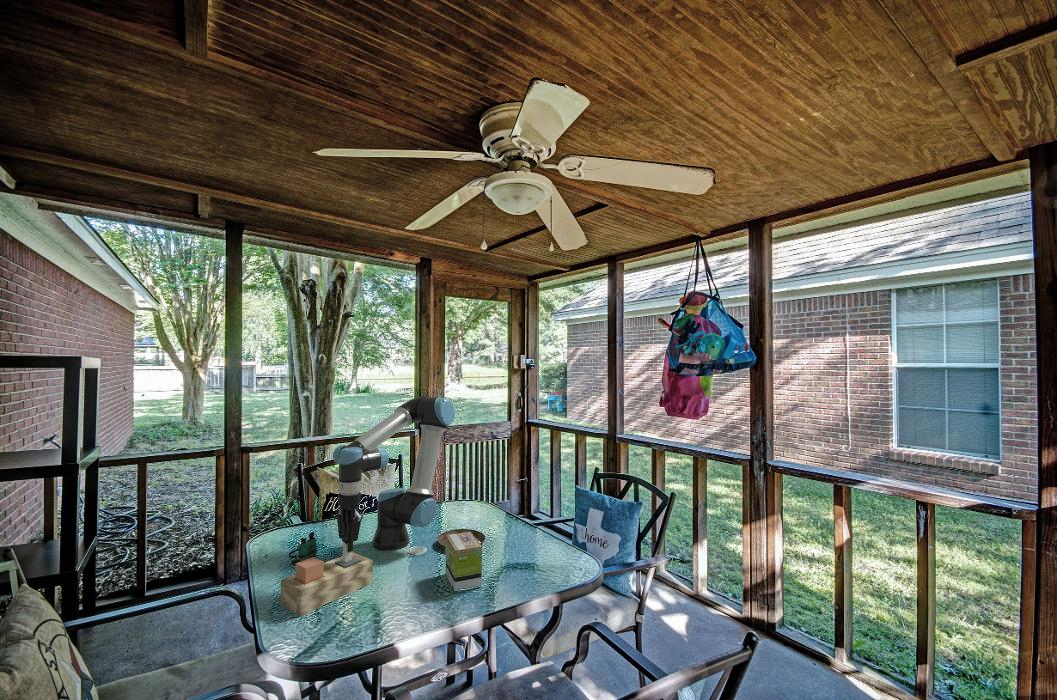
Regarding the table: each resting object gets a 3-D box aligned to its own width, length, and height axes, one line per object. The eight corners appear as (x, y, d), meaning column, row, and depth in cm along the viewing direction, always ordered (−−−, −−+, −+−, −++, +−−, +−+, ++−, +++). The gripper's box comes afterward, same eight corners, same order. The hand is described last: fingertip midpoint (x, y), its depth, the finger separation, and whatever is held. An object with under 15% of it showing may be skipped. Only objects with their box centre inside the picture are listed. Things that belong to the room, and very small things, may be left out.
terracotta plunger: (312, 581, 150) (313, 556, 151) (322, 586, 147) (323, 561, 147) (294, 588, 146) (295, 563, 146) (305, 594, 142) (305, 568, 142)
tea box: (444, 574, 167) (445, 534, 168) (470, 569, 171) (471, 530, 172) (454, 593, 154) (455, 549, 154) (482, 588, 157) (483, 545, 158)
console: (351, 574, 166) (352, 552, 166) (372, 583, 159) (373, 560, 160) (280, 604, 145) (281, 579, 145) (300, 616, 138) (301, 590, 138)
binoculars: (298, 531, 181) (320, 531, 179) (299, 558, 181) (321, 558, 179) (282, 539, 172) (304, 539, 171) (283, 567, 172) (306, 568, 170)
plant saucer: (494, 547, 193) (494, 540, 193) (450, 559, 181) (450, 551, 181) (471, 532, 209) (471, 525, 209) (429, 542, 197) (429, 534, 198)
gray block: (349, 578, 162) (350, 555, 162) (359, 583, 159) (360, 560, 159) (334, 584, 157) (334, 561, 157) (344, 590, 154) (345, 566, 154)
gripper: (329, 491, 159) (326, 559, 158) (351, 498, 152) (349, 569, 151) (348, 487, 166) (345, 552, 165) (370, 493, 158) (368, 561, 157)
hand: (347, 560), depth 158 cm, fingers closed
